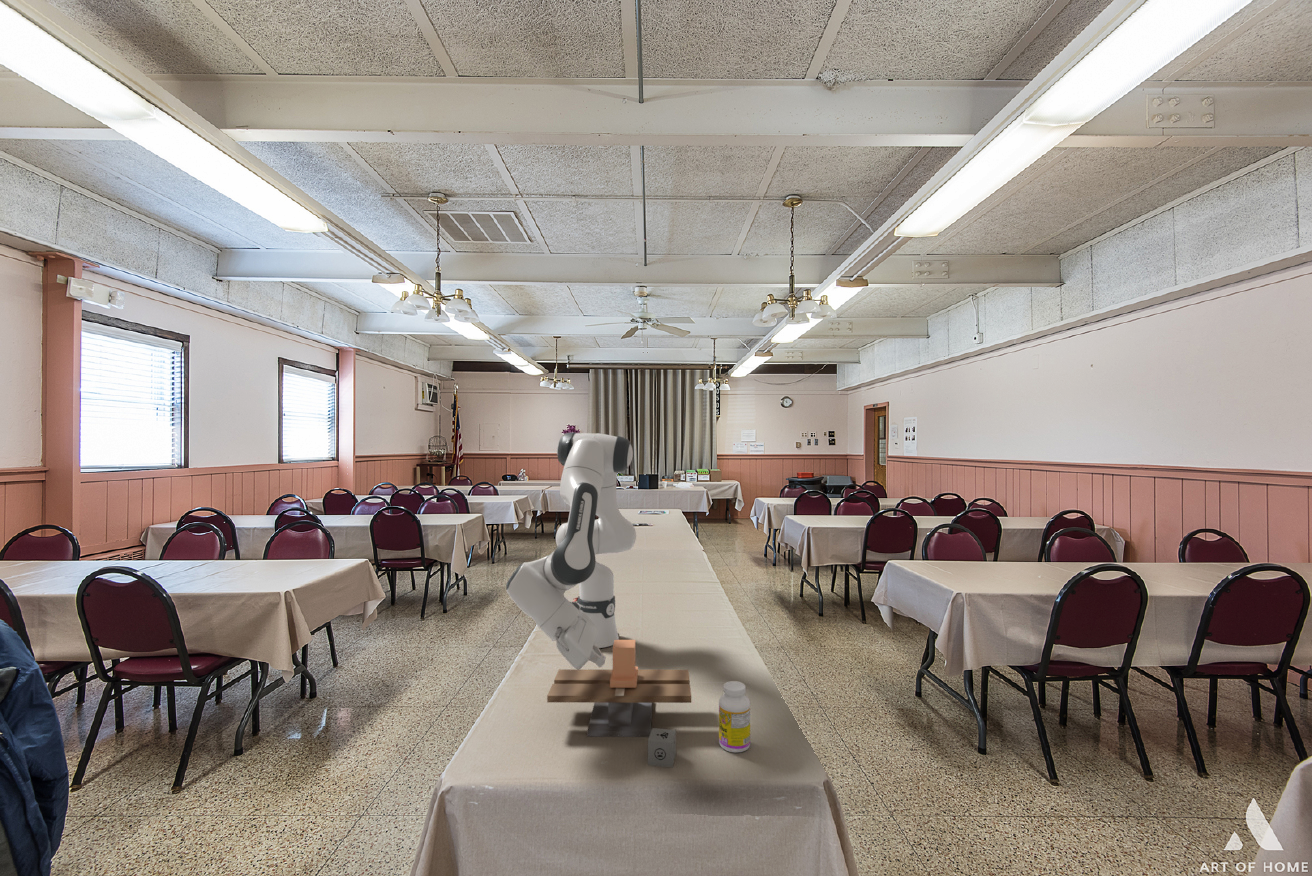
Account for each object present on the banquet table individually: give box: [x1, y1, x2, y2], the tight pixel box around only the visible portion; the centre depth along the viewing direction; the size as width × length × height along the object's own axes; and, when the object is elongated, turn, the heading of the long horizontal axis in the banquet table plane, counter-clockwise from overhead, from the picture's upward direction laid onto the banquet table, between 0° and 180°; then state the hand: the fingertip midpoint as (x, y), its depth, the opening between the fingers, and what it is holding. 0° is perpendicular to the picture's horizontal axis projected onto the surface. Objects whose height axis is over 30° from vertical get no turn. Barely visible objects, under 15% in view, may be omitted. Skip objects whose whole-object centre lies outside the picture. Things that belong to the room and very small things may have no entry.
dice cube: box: [647, 727, 677, 768], centre depth 116 cm, size 5×5×5 cm
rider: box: [610, 639, 639, 688], centre depth 132 cm, size 6×8×10 cm
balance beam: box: [546, 668, 692, 738], centre depth 132 cm, size 32×16×9 cm, turn 89°
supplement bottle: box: [718, 680, 751, 754], centre depth 121 cm, size 7×7×13 cm
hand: (603, 663), depth 132 cm, fingers closed
